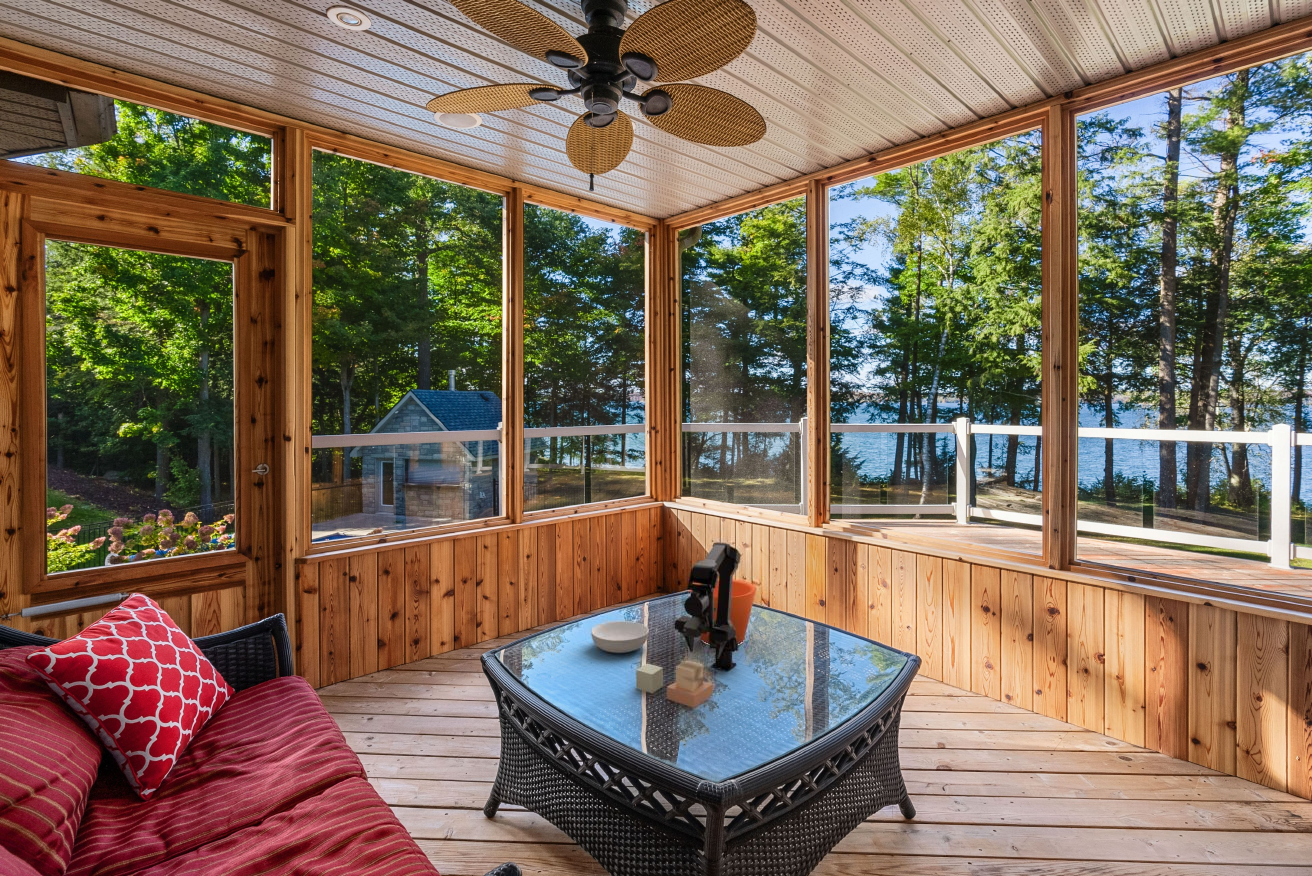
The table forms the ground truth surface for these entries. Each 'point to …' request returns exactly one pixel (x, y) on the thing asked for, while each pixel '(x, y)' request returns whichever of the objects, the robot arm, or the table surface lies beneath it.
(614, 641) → the serving bowl
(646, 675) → the sage green cube
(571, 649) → the table surface
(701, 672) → the maple cube
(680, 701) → the terracotta base block
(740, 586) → the flowerpot
